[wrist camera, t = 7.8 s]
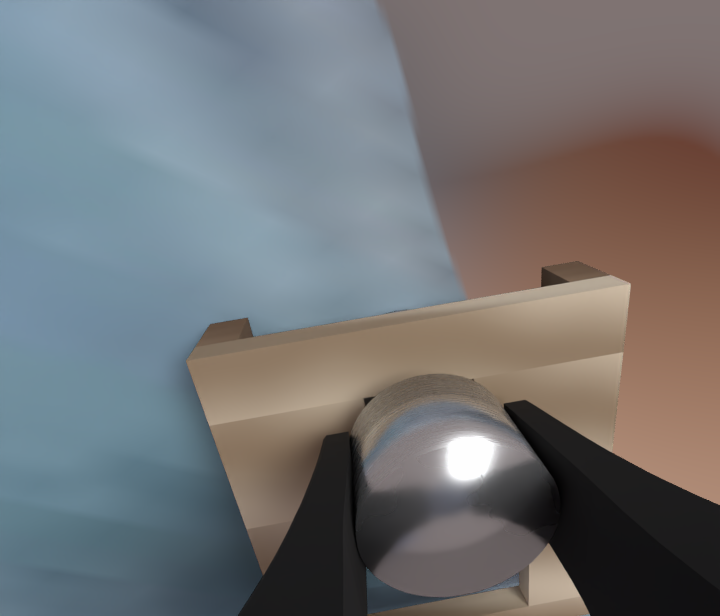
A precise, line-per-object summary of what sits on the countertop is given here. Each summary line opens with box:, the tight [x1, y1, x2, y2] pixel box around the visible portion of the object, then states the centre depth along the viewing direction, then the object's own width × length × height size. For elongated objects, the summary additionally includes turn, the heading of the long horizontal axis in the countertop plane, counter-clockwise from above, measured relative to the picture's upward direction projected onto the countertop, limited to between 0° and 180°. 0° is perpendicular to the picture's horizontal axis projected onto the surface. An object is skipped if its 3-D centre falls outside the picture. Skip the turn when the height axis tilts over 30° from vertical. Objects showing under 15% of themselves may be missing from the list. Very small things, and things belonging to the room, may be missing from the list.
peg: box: [350, 310, 561, 597], centre depth 11 cm, size 5×5×6 cm
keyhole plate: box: [186, 261, 631, 616], centre depth 14 cm, size 14×12×2 cm
